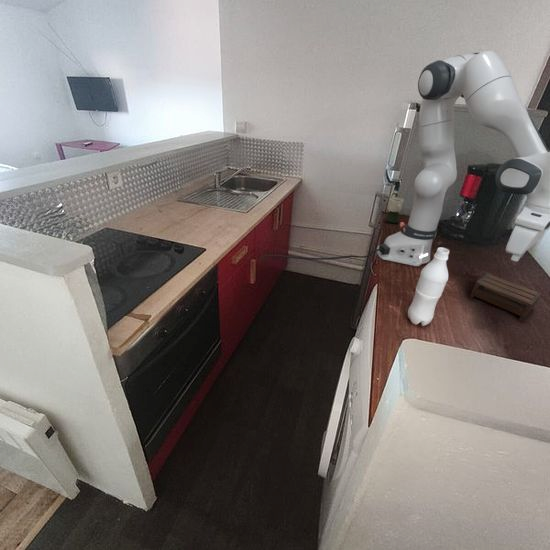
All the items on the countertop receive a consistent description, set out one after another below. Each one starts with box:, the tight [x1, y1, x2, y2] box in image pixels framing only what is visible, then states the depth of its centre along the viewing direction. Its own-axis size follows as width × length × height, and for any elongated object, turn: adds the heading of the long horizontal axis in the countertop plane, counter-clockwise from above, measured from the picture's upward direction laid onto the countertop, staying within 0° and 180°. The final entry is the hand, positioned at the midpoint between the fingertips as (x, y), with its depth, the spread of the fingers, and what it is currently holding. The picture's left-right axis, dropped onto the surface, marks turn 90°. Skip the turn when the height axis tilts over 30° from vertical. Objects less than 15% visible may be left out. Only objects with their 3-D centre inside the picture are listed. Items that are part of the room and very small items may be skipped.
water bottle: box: [407, 246, 450, 327], centre depth 86 cm, size 7×7×25 cm
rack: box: [468, 272, 542, 322], centre depth 100 cm, size 10×16×7 cm, turn 38°
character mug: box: [385, 196, 405, 224], centre depth 161 cm, size 11×7×13 cm, turn 2°
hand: (515, 259), depth 86 cm, fingers closed
